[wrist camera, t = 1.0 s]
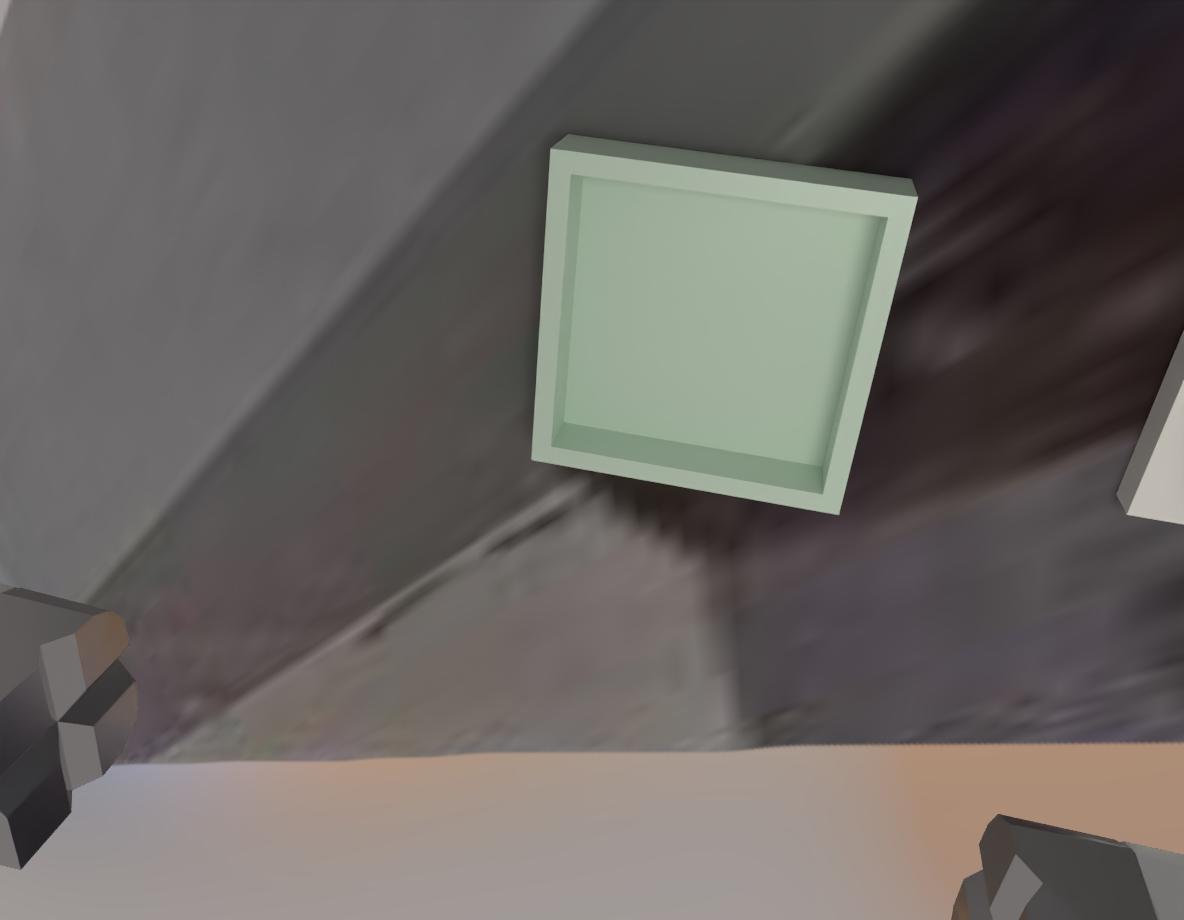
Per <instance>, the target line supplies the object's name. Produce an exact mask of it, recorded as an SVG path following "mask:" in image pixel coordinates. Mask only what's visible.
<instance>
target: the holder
mask: <svg viewBox="0 0 1184 920" xmlns="http://www.w3.org/2000/svg"><path fill="white" fill-rule="evenodd" d="M1116 495H1117V497H1118V499H1119V501H1120V502H1121V504H1122V506H1123V508H1124V510H1125V512H1126V514H1127V515H1132V516H1138V517H1143V518H1149V519H1155V520H1161V521H1167V522H1172V523H1178V524H1184V331H1183V333H1182V335H1181V338H1180V340H1179V343H1178V345H1177V348H1176V350H1175V352H1174V355H1173V357H1172V360H1171V362H1170V365H1169V367H1168V369H1167V372H1166V374H1165V377H1164V379H1163V382H1162V384H1161V386H1160V389H1159V391H1158V394H1157V396H1156V399H1155V401H1154V404H1153V406H1152V408H1151V411H1150V413H1149V416H1148V418H1147V421H1146V423H1145V425H1144V428H1143V430H1142V433H1141V435H1140V438H1139V440H1138V442H1137V445H1136V447H1135V450H1134V452H1133V455H1132V457H1131V459H1130V462H1129V464H1128V467H1127V469H1126V472H1125V474H1124V476H1123V479H1122V481H1121V484H1120V486H1119V489H1118V491H1117V493H1116Z"/></svg>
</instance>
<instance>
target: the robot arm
mask: <svg viewBox="0 0 1184 920" xmlns="http://www.w3.org/2000/svg"><path fill="white" fill-rule="evenodd" d="M129 645H130V644H129V640H128V635H127V630H126V626H125V621H124V618H123V617H121V616H119V615H117V614H115V613H113V612H111V611H109V610H105V609H101V608H98V607H94V606H90V605H86V604H82V603H78V602H74V601H70V600H67V599H63V598H59V597H55V596H51V595H47V594H43V593H39V592H35V591H32V590H28V589H24V588H15V587H12V586H8V585H4V584H0V865H3V866H7V867H11V868H15V869H20V870H21V869H22V868H23V867H24V866H25V865H26V863H27V862H28V861H29V860H30V859H31V858H32V856H33V855H34V854H35V853H36V852H37V851H38V850H39V848H40V847H41V846H42V845H43V844H44V843H45V842H46V841H47V839H48V838H49V837H50V836H51V835H52V834H53V833H54V831H55V830H56V829H57V828H58V827H59V826H60V825H61V823H62V822H63V821H64V820H65V819H66V818H67V817H68V815H69V814H70V813H71V805H72V790H74V789H76V788H78V787H80V786H82V785H84V784H86V783H89V782H91V781H93V780H95V779H97V778H99V777H102V776H103V775H104V774H105V773H106V771H107V770H108V769H109V768H110V767H111V765H112V764H113V763H114V762H115V761H116V759H117V758H118V757H119V756H120V755H121V753H122V752H123V750H124V747H125V745H126V743H127V741H128V739H129V736H130V734H131V732H132V730H133V728H134V726H135V723H136V715H137V707H138V694H137V687H136V681H135V680H134V678H133V677H132V676H131V675H130V673H129V672H128V671H127V670H126V668H125V667H124V666H123V665H122V663H121V662H120V661H119V660H118V659H119V658H120V656H121V655H122V654H123V653H124V652H125V650H126V649H127V648H128V647H129ZM979 847H980V853H981V859H982V865H983V870H981V871H979V872H977V873H975V874H973V875H971V876H969V877H967V878H965V879H964V880H963V883H962V885H961V888H960V891H959V893H958V896H957V898H956V901H955V904H954V906H953V913H952V919H951V920H1184V854H1180V853H1175V852H1170V851H1166V850H1161V849H1157V848H1152V847H1147V846H1143V845H1138V844H1133V843H1129V842H1118V841H1116V840H1114V839H1109V838H1105V837H1100V836H1095V835H1091V834H1086V833H1082V832H1077V831H1073V830H1068V829H1063V828H1059V827H1055V826H1050V825H1046V824H1041V823H1037V822H1032V821H1027V820H1023V819H1018V818H1013V817H1009V816H1005V815H1000V814H998V815H997V816H996V817H995V818H994V819H993V820H992V821H991V822H990V823H989V824H988V825H987V828H986V830H985V832H984V834H983V836H982V839H981V841H980V843H979Z"/></svg>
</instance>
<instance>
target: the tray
mask: <svg viewBox="0 0 1184 920" xmlns="http://www.w3.org/2000/svg"><path fill="white" fill-rule="evenodd" d="M917 199H918V196H917V193H916V190H915V188H914V185H913V182H912V179H908V178H900V177H892V176H885V175H877V174H870V173H862V172H854V171H847V170H839V169H831V168H824V167H816V166H808V165H801V164H793V163H785V162H778V161H770V160H762V159H755V158H747V157H739V156H732V155H724V154H716V153H709V152H701V151H693V150H686V149H678V148H670V147H663V146H655V145H648V144H640V143H632V142H625V141H617V140H609V139H602V138H594V137H586V136H579V135H571V134H568V135H567V136H565V137H564V138H563V139H562V140H560V141H559V142H558V143H557V144H555V145H554V146H553V147H552V148H551V149H550V166H549V182H548V198H547V214H546V230H545V247H544V263H543V279H542V295H541V312H540V328H539V344H538V360H537V376H536V393H535V409H534V425H533V441H532V457H531V460H534V461H540V462H545V463H551V464H556V465H562V466H568V467H573V468H579V469H584V470H590V471H596V472H601V473H607V474H612V475H618V476H624V477H629V478H635V479H640V480H646V481H652V482H657V483H663V484H668V485H674V486H680V487H685V488H691V489H696V490H702V491H708V492H713V493H719V494H724V495H730V496H735V497H741V498H747V499H752V500H758V501H763V502H769V503H775V504H780V505H786V506H791V507H797V508H803V509H808V510H814V511H819V512H825V513H831V514H836V515H839V512H840V508H841V504H842V500H843V496H844V492H845V488H846V484H847V480H848V476H849V472H850V468H851V464H852V460H853V456H854V452H855V448H856V444H857V440H858V436H859V432H860V428H861V424H862V420H863V416H864V412H865V408H866V404H867V400H868V396H869V392H870V388H871V384H872V380H873V376H874V372H875V368H876V364H877V360H878V356H879V352H880V348H881V344H882V340H883V336H884V332H885V328H886V324H887V320H888V316H889V311H890V307H891V303H892V299H893V295H894V291H895V287H896V283H897V279H898V275H899V271H900V267H901V263H902V259H903V255H904V251H905V247H906V243H907V239H908V235H909V231H910V227H911V223H912V219H913V215H914V211H915V207H916V203H917Z"/></svg>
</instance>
